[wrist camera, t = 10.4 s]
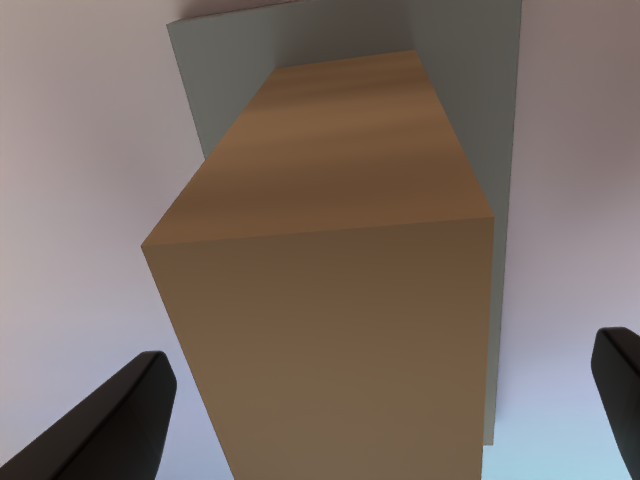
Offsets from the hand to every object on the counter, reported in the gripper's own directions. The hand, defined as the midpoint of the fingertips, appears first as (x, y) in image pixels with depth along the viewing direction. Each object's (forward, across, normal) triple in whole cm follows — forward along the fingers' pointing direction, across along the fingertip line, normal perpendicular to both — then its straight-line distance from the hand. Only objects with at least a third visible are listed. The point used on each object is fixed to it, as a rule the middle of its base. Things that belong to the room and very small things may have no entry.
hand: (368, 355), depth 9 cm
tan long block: (+2, 0, 0) cm, 2 cm away
